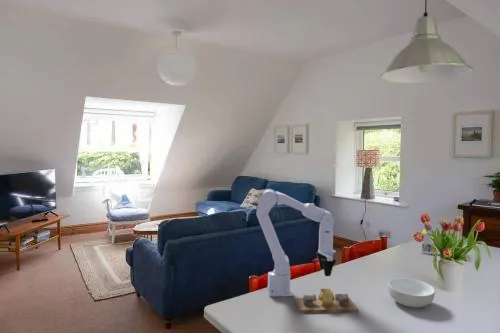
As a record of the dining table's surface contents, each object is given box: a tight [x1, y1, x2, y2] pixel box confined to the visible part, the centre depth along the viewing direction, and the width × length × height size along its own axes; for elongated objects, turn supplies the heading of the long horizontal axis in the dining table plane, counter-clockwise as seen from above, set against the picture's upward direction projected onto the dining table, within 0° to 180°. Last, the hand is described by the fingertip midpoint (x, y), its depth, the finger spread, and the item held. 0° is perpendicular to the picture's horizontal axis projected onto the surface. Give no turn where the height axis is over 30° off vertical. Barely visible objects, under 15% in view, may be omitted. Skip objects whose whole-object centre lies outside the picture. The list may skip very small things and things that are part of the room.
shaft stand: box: [294, 293, 359, 314], centre depth 137 cm, size 22×10×5 cm, turn 92°
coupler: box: [318, 288, 335, 306], centre depth 137 cm, size 6×4×5 cm
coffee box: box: [420, 228, 438, 256], centre depth 208 cm, size 12×12×12 cm
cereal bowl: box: [387, 277, 436, 309], centre depth 140 cm, size 17×17×7 cm
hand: (325, 272), depth 148 cm, fingers open, 7 cm apart
